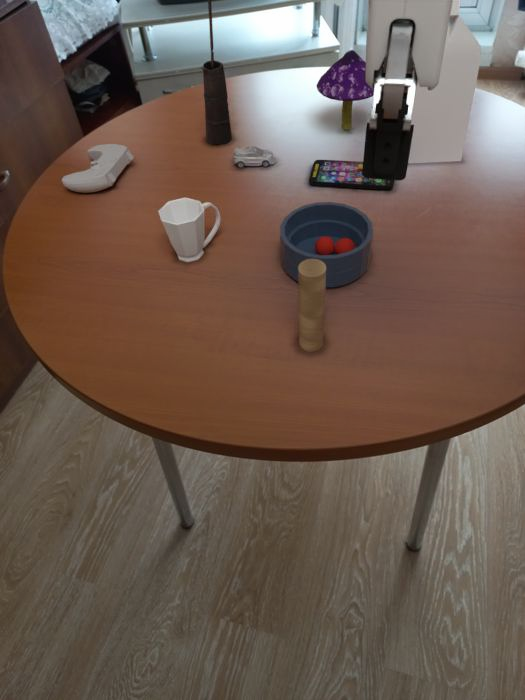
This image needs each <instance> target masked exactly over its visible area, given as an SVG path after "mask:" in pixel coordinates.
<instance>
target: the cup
mask: <svg viewBox="0 0 525 700" xmlns="http://www.w3.org/2000/svg"><path fill="white" fill-rule="evenodd" d="M209 207H212V208H213V210H214V213H215V216H216V217H215V223H214V225H213V228H212V229H211V231H210V232H209V234H208V236H207V237H206V238H205V231H206V230H205V219H206V217H205V210H206V209H208V208H209ZM157 213H158V214H159V217H160V218H159V219H160V220H161V223H162V226H163V228H164V230H165V232H166V235H167V237H168V239H169V242H170V244H171V246H172V248H173V249H174V252H175V253H176V255H177V258H178V260H179V261H182V262H184V263H191V262H195V261H199V260H200V258H202V256H203V255H204V254H205V252H204V250H203V249H204V248H205V247H206V246H208V244H209V243H210V242H211V241H212V239H213V238H214V237H215V235H216V233H217V231H219V227H220V226H221V219H222V218H221V213H220V211H219V209H218V206H216V205H215V204H213V203H212V202H210V201H209V202H208V201H206V202H204V203H202V202H201V200H197V199H195V198H194V199H193V198H189V197H181V198H177V199H172V200H168V201H167V202H165V204H164V205H162V207H160V208H159V210H158V211H157Z"/></svg>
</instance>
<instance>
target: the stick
mask: <svg viewBox="0 0 525 700" xmlns="http://www.w3.org/2000/svg"><path fill="white" fill-rule="evenodd" d="M297 283H298V285H297V287H298V290H297V291H298V345H299V348H301V349H302V351H306V352H309V353H312V352H317V351H319V350H320V349H322V348H323V346H324V334H325V314H326V313H325V312H326V311H325V310H326V265H325V263H324V262H322V261H321V260H318V259H307V260H304V261H302V262H301V263H300V264H299V266H298V281H297Z"/></svg>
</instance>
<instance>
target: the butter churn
mask: <svg viewBox="0 0 525 700" xmlns="http://www.w3.org/2000/svg"><path fill="white" fill-rule="evenodd" d="M207 5H208V7H207V8H208V9H207V10H208V23H209V44H210V46H209V48H210V60H208V61H206V62H204V63H203V65H202V67H200V69H201V70H202V76H203V78H202V79H203V98H204V115H205V116H204V120H205V141H206V142H207V144H209V145H212V146H214V145H225V144H228V143H230V142H231V141H232V139H233V136H232V126H231V119H230V110H229V102H228V88H227V81H226V75H225V68H224V64H223V62H220V61H218V60H215V55H214V54H215V51H214V33H213V31H214V29H213V10H212V9H213V6H212V0H207Z"/></svg>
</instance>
